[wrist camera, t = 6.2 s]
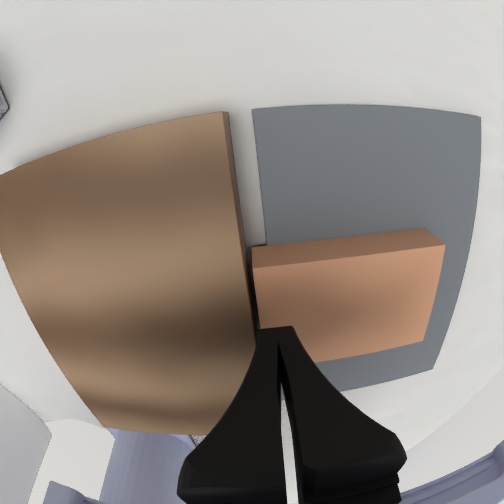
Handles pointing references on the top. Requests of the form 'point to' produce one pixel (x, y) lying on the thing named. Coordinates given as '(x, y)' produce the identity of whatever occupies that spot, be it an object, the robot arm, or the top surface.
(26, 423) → the canister
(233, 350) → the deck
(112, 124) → the top surface
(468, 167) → the mat
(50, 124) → the top surface
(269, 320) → the tan rectangular slab
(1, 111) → the medicine box
